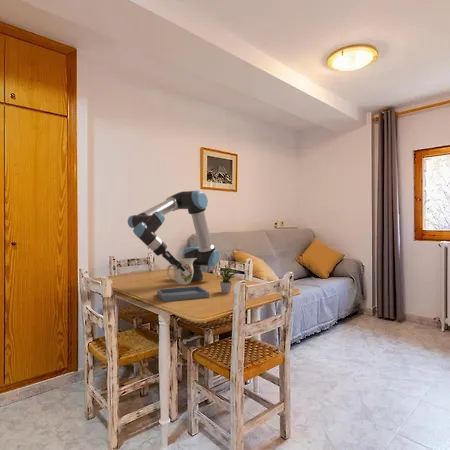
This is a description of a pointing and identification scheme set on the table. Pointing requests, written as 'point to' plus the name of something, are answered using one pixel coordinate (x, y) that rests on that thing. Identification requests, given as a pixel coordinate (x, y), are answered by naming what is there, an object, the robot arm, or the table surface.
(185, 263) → the pitcher
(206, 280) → the table surface
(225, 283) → the house plant
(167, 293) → the tray
